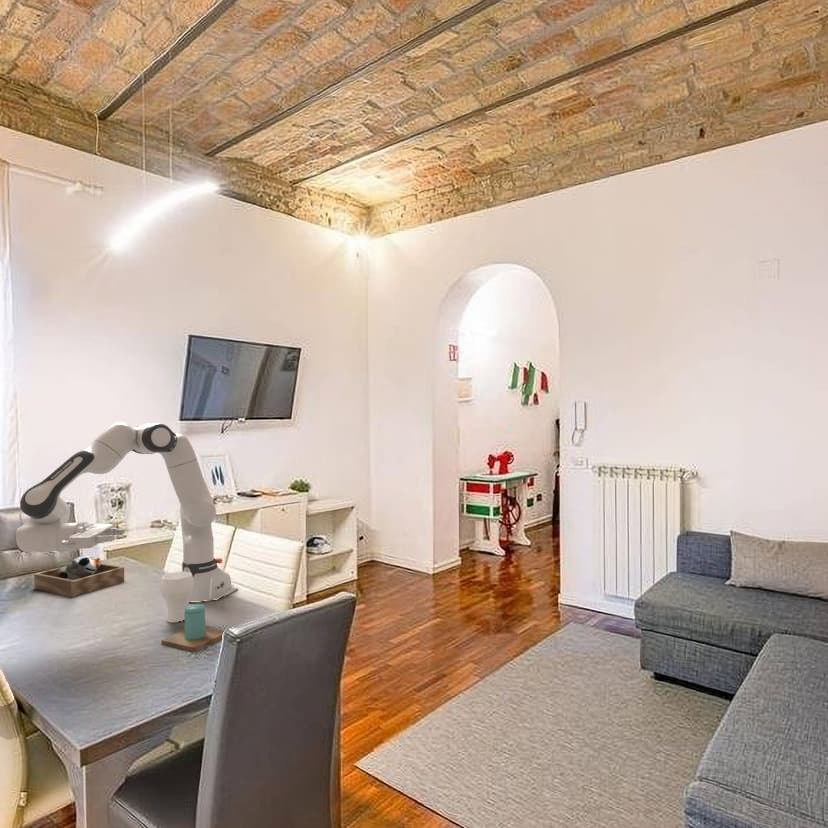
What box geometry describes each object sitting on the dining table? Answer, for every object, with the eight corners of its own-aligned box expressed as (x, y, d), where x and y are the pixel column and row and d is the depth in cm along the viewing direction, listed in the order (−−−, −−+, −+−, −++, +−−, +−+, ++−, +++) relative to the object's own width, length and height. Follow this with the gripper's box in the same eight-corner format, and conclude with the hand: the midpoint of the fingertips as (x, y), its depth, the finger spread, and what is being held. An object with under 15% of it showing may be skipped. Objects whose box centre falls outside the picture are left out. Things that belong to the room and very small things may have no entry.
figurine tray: (86, 574, 261) (86, 560, 260) (124, 581, 249) (124, 567, 249) (34, 588, 241) (34, 574, 240) (73, 596, 229) (72, 581, 229)
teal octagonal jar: (195, 630, 190) (195, 602, 189) (209, 633, 187) (209, 605, 187) (180, 637, 184) (180, 608, 184) (194, 640, 182) (194, 611, 181)
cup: (174, 626, 197) (173, 581, 197) (154, 620, 203) (153, 577, 202) (201, 616, 206) (200, 573, 206) (181, 611, 212) (180, 569, 211)
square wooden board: (196, 628, 195) (196, 612, 195) (228, 635, 189) (228, 619, 189) (161, 644, 182) (160, 627, 182) (194, 651, 176) (194, 634, 176)
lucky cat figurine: (80, 576, 257) (96, 547, 258) (94, 591, 252) (111, 562, 252) (47, 575, 244) (64, 545, 245) (62, 590, 238) (79, 560, 239)
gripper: (57, 534, 179) (106, 532, 181) (85, 521, 199) (128, 519, 201) (58, 554, 179) (107, 552, 181) (85, 539, 199) (129, 537, 201)
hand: (118, 534), depth 191 cm, fingers open, 8 cm apart
